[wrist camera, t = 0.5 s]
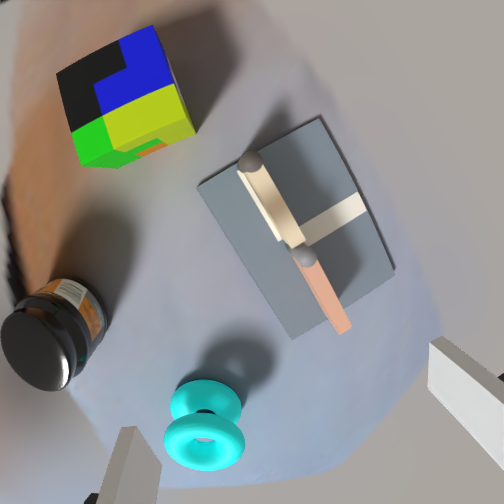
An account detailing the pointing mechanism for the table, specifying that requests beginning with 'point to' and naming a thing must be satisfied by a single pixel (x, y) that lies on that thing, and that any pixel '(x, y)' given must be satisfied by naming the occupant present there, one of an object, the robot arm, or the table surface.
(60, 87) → the puzzle toy
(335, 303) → the salmon gate panel
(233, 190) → the card
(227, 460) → the donuts
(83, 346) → the supplement container
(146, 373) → the table surface
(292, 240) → the rail
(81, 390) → the table surface
